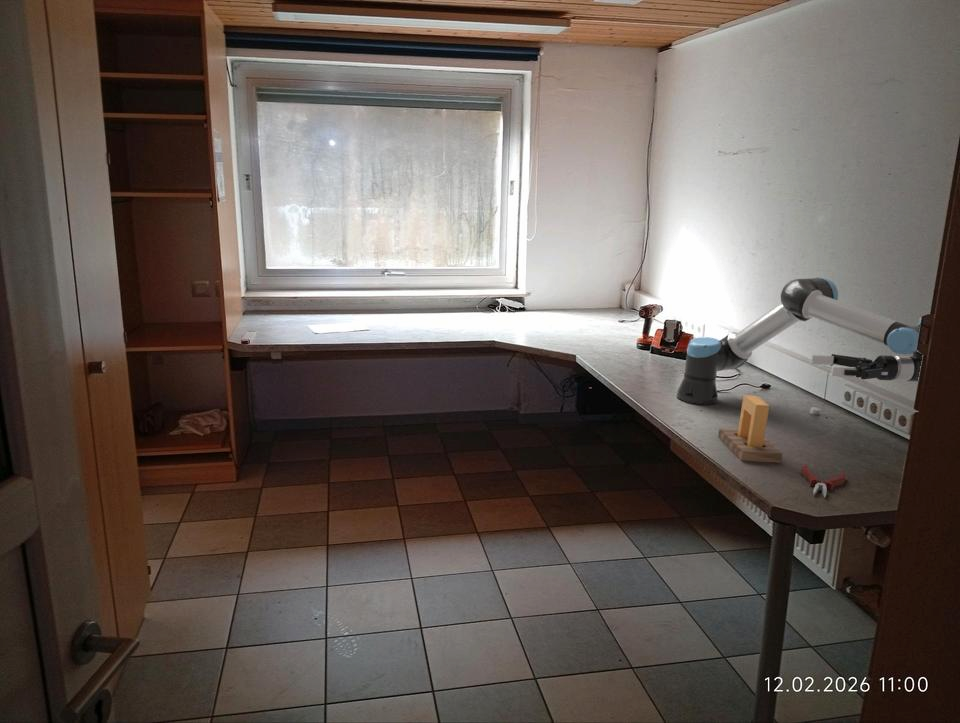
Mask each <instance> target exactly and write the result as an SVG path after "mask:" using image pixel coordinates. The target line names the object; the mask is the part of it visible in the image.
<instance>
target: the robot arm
mask: <svg viewBox="0 0 960 723" xmlns="http://www.w3.org/2000/svg"><path fill="white" fill-rule="evenodd" d="M838 298H839V290H838V288H837V286H836V284H835V283H834V282H833V281H832V280H830V279H828V278H824V277H813V278H796V279H793V280H790V281H789V282H787V283H786V285H784V286H783V287H782V289H781V292H780V303H779V304H778V305H776V306H775V307H773V308H772V309H771V310H769V311H767V312H766V313H764V314H763V315H762V316H759V318H757V319H756V320H754V321H753V322H751V323H750V324H749V325H747V326H746V327H745V328H743V329H741V330H740V331H737V332H736V331H733V332H732V331H731V332H730V333H729V334H727V335H726V336H724V337H723V338H721V339H717V338H714V337H708V336H707V337H706V336H704V337H701V336H699V337H696V338H693V339H691V340H690V341H689V342H688V345H687V349H686V359H685V364H684V365H685V366H684V373H683V378H682V380H681V382H680V384H679V387H678V388H677V391H676V398H679V399H678V400H680V399H681V400H680V401H682V400H683V401H682V402H685V401H686V402H685V403H689V402H690V403H689V404H693V403H696V404H695V405H701V404H703V406H704V405H705V406H706V405H707V406H708V405H716V404H717V403H718V401H719V400H718V398H719V394H718V390H717V384H716V382H717V381H716V379H717V374H718V373H717V372H720V371H729V370H731V371H732V370H736V369H737V370H738V369H739V368H741V367H743V366H744V365H745V364H747V362H748V360H749V359H750V358H751V356H752V354H753V351H755V350H756V349H758V348H759V347H761V346H762V345H764V344H765V343H767V342H769V341H770V340H771V339H773V338H774V337H776V336H777V335H780V334H781V333H782V332H783V331H786V330H787V329H788V328H790V327H791V326H793V325H794V324H796V323H798V322H799V321H801V322H807V321H809V320H810V319H812V318H814V319H817V320H818V321H819V320H820V321H821V322H823V323H827V324H829V325H832V326H834V327H837V328H840V329H843V330H845V331H848V332H850V333H853V334H855V335H858V336H861V337H863V338H866V339H868V340H871V341H874V342H875V343H876V342H877V343H880V344H882V345H885V346H887V347H888V348H889V349H890V350H891V351H892V352H893V353H896V354H899V355H883V354H881V355H878V356H877V357H875V359H874V361H873V359H870V358H866V357H856V356H848V355H843V354H841V355H840V354H833V353H832V354H831V355H822V354H821V355H820V354H817V355H815V354H812V355H811V359H810V364H811V365H824V366H825V365H828V366H829V365H830V366H831V371H830V376H832V377H849V378H851V377H852V378H854V377H855V378H860V379H861V380H869V379H877V380H878V381H897V383H901V382H902V381H904V382H918V377H919V372H920V366H921V361H922V354H920V353H919V352H917V350H916V347H917V342H918V336H919V329H920V323H921V318H922V317H920V318H919V319H918V323H917V325H916V326H910V325H908V324H905V323H902V322H898V321H896V320H893V319H891V318H888V317H885V316H884V315H883V316H882V315H880V314H877V313H875V312H871V311H868V310H865V309H863V308H861V307H857V306H854V305H852V304H848V303H846V302H844V301H840V300H838ZM910 354H911V355H912V356H909V355H910ZM835 365H837V366H835Z"/></svg>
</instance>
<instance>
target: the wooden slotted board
mask: <svg viewBox="0 0 960 723" xmlns="http://www.w3.org/2000/svg"><path fill="white" fill-rule="evenodd" d="M737 434H738V428H726V427H725V428H724V427H723V428H721V427H719V428H718V435H717V437H718V438H719V439H720V440H721V441H722V442H723V443H724V445H725V446H726V447H727V448H728V449H729V450H730V451H731V452H732V453H733V454H734V455H735V456H736V457H737V459H739V460H740V461H744V462H758V463H759V462H762V463H764V462H765V463H777V464H778V463H779V464H780V463H782V459H783V452H782V451H781V450H779V449H778V448H777V447H776V446H775V445H774V444H773V443H771V441H769V440H768V439H767V438H766V437H765V436H764V441H763V447H749V446H747V441H748V438H746V437H737Z"/></svg>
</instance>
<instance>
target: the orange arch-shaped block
mask: <svg viewBox="0 0 960 723" xmlns="http://www.w3.org/2000/svg"><path fill="white" fill-rule="evenodd" d="M742 397H743V399H742V403H741V409H740V415H739V416H740V417H739V420H738V421H739V423H738V428H737V429H738V434H737V437H746V438H748V441H747V446H749V447H763V441H764V437H765V434H766V428H767V424H768V417H769V412H770V411H769V410H770V405H769V404H768V403H766V402H765V401H764V400H763V399H762V398H760V397H759V396H757V395H749V394H748V395H747V394H743V396H742Z"/></svg>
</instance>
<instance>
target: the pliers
mask: <svg viewBox="0 0 960 723" xmlns="http://www.w3.org/2000/svg"><path fill="white" fill-rule="evenodd" d="M800 474H801V477H803V478H804V477H805V478H806V479H805V478H804V479H805V480H807V482H808V483H809V484H808V486H809V485H810V486H809V487H812V486H815V487H813V492H812V493H813V494H812V495H813V496H815V495H817V493H818V492H819V491H821V490H822V491H821V495H822V496H823V497H824V498H825V499H826V497H827V494H828V491H829V492H832V491H834V490H833V489H834V488H835V487H839V486H842V485H844V483H845V482H846V474H845V473H844V472H842V471H840V474H839V476H838V477H833V478H830V479H827V480H823V481H821V479H820V478H818V476H815V475H814V474H813V473H812V472H811V471H810V470H809V469H808V464H806V463H805V464H803V465H802V467H801V469H800ZM827 489H828V490H827Z"/></svg>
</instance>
